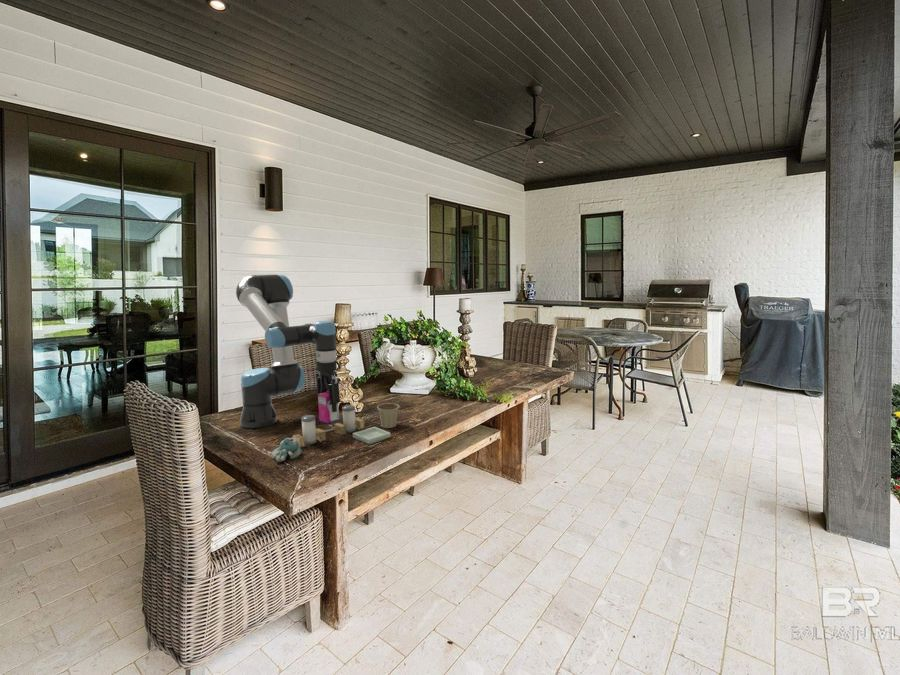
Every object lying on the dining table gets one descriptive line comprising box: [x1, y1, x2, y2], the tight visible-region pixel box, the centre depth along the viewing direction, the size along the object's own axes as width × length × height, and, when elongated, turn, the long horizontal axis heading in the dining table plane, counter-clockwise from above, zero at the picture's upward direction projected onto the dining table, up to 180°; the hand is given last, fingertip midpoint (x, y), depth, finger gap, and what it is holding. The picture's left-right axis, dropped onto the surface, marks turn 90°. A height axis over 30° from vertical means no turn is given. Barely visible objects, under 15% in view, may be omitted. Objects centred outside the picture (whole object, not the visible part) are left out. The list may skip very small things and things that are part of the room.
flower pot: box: [376, 402, 400, 429], centre depth 195 cm, size 9×9×9 cm
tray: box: [352, 426, 392, 445], centre depth 182 cm, size 11×11×2 cm
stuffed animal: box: [271, 437, 302, 462], centre depth 164 cm, size 11×7×12 cm
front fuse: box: [300, 414, 318, 446], centre depth 177 cm, size 5×5×10 cm
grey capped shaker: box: [341, 404, 357, 434], centre depth 190 cm, size 5×5×10 cm
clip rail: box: [292, 417, 365, 448], centre depth 185 cm, size 8×29×4 cm, turn 135°
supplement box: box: [317, 390, 340, 425], centre depth 183 cm, size 6×6×12 cm
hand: (329, 417), depth 184 cm, fingers closed on supplement box, 6 cm apart
